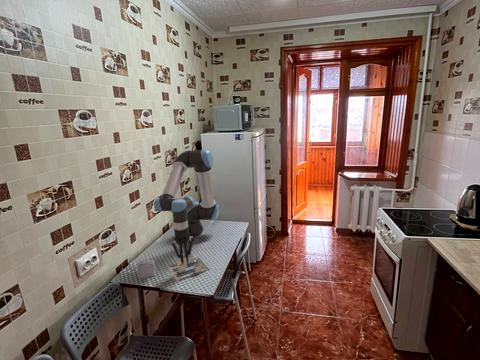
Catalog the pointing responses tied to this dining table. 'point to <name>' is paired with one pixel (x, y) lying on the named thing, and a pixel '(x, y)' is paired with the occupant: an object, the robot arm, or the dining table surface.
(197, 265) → the block
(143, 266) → the medicine box
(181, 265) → the block
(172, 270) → the panel
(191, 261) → the block
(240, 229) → the dining table surface
